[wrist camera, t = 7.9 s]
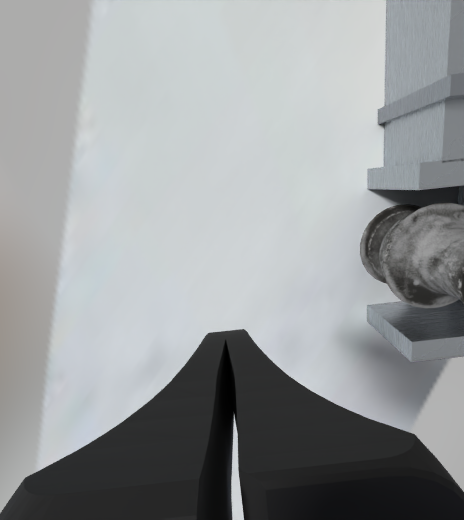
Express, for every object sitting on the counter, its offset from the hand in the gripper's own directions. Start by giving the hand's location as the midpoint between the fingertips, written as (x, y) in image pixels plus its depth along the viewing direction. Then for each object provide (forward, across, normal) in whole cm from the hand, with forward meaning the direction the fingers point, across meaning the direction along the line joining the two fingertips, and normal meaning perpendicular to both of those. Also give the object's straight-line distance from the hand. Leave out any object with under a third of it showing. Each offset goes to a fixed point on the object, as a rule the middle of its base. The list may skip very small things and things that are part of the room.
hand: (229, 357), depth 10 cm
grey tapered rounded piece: (+10, -12, -1) cm, 15 cm away
